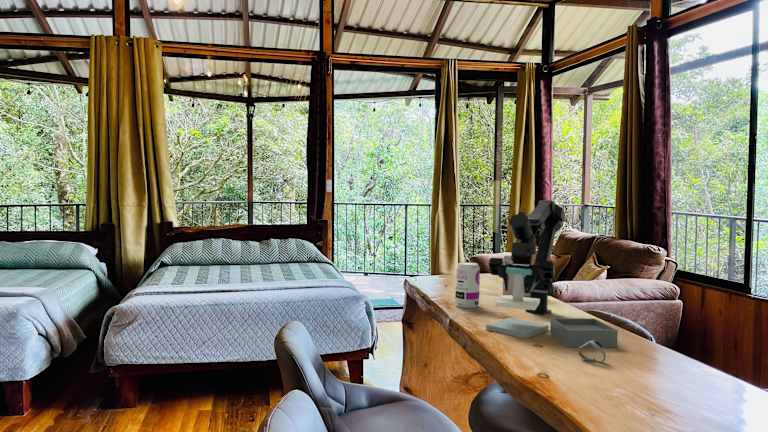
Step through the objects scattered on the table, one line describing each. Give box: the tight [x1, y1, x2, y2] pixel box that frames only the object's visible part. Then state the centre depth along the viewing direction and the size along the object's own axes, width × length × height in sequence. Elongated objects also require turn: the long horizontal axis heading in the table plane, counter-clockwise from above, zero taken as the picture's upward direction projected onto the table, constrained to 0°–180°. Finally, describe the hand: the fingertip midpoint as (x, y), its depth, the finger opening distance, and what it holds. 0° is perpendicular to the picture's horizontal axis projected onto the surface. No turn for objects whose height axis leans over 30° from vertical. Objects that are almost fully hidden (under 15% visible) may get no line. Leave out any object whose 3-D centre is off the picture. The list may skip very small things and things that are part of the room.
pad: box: [485, 317, 550, 339], centre depth 156 cm, size 13×13×2 cm
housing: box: [549, 317, 619, 348], centre depth 145 cm, size 13×13×4 cm
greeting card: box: [502, 255, 534, 297], centre depth 208 cm, size 11×7×15 cm, turn 58°
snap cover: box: [495, 267, 540, 310], centre depth 155 cm, size 11×11×10 cm
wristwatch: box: [578, 341, 607, 364], centre depth 128 cm, size 4×6×5 cm, turn 58°
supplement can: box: [454, 261, 481, 309], centre depth 187 cm, size 8×8×15 cm
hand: (517, 291), depth 154 cm, fingers closed on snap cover, 6 cm apart
